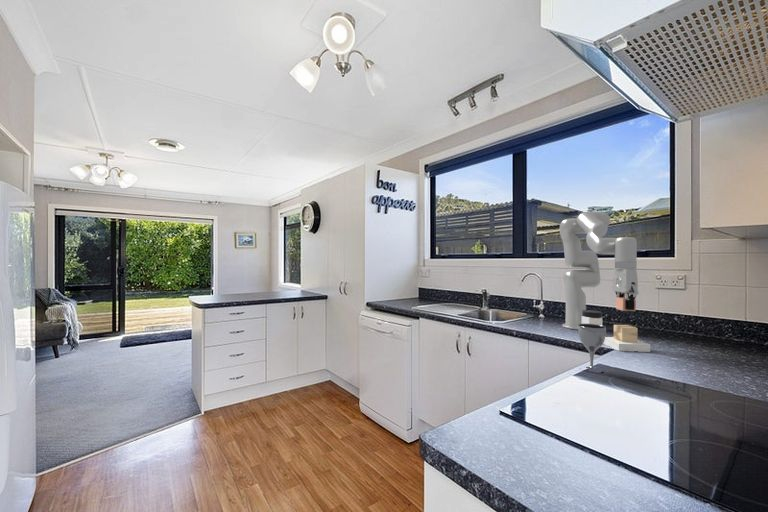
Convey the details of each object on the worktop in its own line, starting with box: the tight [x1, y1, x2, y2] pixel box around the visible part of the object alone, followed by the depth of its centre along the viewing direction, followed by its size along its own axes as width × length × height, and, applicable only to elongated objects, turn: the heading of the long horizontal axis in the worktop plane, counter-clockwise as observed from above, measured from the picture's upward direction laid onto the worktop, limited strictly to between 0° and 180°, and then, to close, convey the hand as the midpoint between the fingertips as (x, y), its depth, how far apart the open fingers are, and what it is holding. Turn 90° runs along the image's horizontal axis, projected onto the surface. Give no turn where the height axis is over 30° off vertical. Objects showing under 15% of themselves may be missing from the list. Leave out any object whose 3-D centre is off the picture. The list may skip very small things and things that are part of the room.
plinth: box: [603, 336, 651, 353], centre depth 141 cm, size 12×12×3 cm
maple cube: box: [613, 324, 639, 342], centre depth 141 cm, size 6×6×6 cm
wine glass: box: [578, 324, 607, 369], centre depth 112 cm, size 8×8×15 cm
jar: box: [582, 309, 603, 326], centre depth 162 cm, size 9×8×12 cm
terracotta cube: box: [615, 297, 637, 312], centre depth 141 cm, size 5×5×5 cm
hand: (625, 308), depth 141 cm, fingers closed on terracotta cube, 5 cm apart
